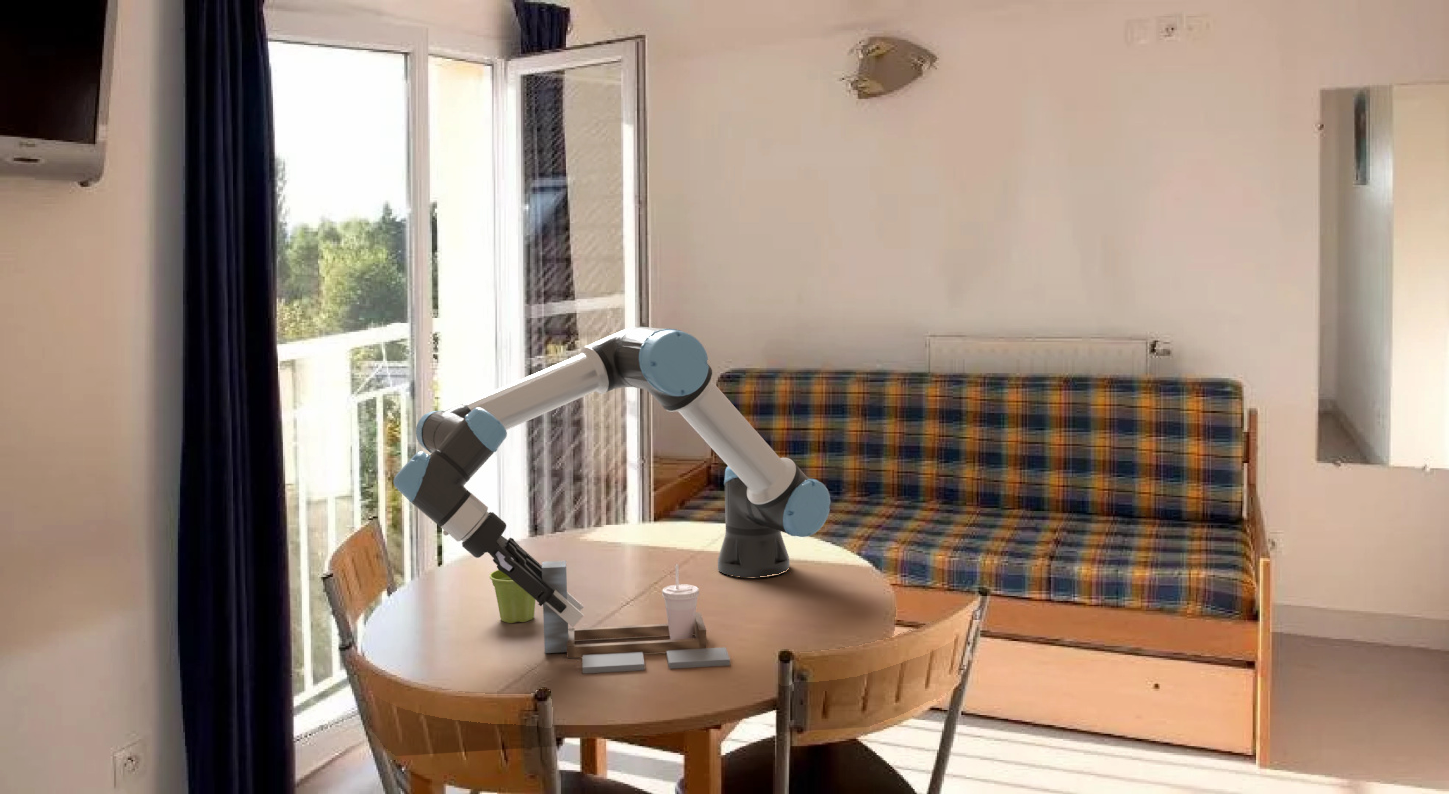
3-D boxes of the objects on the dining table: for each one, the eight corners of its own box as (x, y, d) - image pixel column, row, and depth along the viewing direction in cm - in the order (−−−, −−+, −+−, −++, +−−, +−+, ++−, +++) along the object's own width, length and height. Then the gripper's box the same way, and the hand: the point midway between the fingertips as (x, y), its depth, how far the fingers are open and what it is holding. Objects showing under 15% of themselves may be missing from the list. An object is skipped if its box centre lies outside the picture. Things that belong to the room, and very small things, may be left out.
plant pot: (519, 629, 220) (517, 583, 219) (480, 621, 225) (478, 576, 224) (553, 615, 228) (551, 570, 227) (514, 608, 233) (513, 564, 232)
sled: (700, 631, 217) (699, 550, 215) (706, 650, 207) (705, 565, 205) (545, 639, 214) (542, 557, 212) (544, 659, 204) (541, 572, 202)
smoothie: (662, 638, 215) (661, 560, 213) (699, 637, 215) (698, 559, 213) (663, 650, 208) (661, 570, 206) (700, 649, 209) (699, 569, 207)
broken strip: (725, 653, 206) (725, 647, 206) (730, 665, 200) (729, 659, 200) (582, 660, 204) (582, 655, 204) (582, 673, 198) (582, 667, 198)
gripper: (464, 530, 213) (563, 616, 217) (454, 556, 196) (562, 649, 200) (493, 499, 213) (592, 586, 217) (486, 522, 196) (594, 616, 200)
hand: (578, 616), depth 209 cm, fingers closed on sled, 4 cm apart
